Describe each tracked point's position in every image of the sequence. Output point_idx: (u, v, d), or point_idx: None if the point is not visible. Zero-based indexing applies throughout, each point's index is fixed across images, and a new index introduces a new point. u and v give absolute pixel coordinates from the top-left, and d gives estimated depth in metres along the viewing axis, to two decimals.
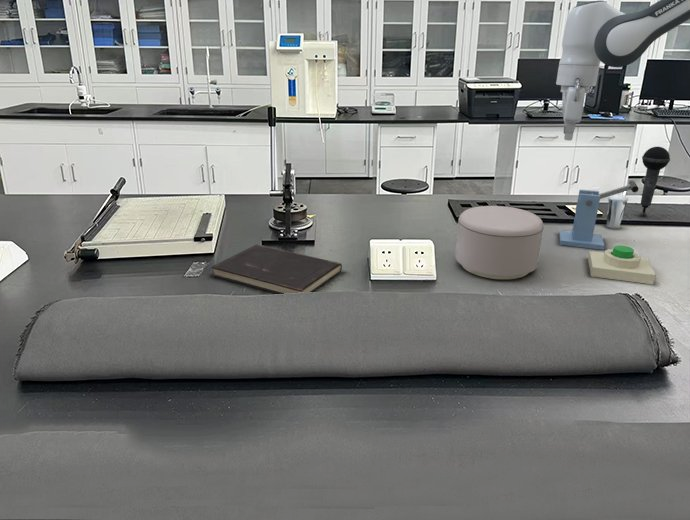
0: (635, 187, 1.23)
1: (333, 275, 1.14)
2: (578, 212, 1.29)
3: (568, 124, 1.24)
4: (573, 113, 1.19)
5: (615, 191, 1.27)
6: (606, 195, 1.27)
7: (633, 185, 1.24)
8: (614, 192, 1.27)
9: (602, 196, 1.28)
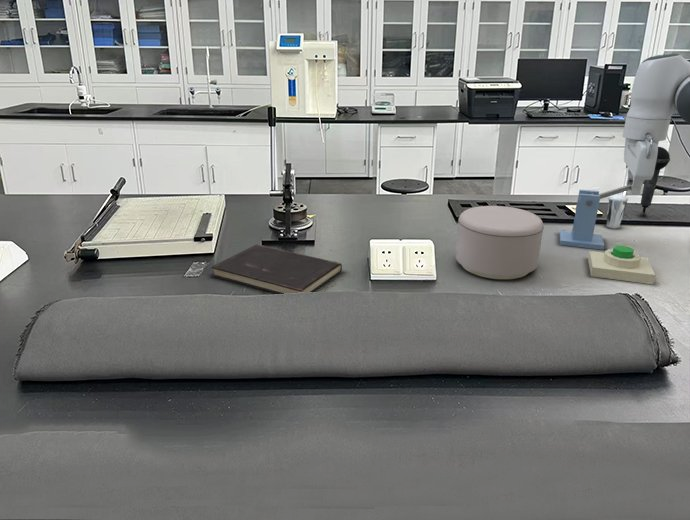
0: None
1: (333, 275, 1.14)
2: (578, 212, 1.29)
3: (636, 179, 1.20)
4: (645, 170, 1.14)
5: (615, 191, 1.27)
6: (606, 195, 1.27)
7: None
8: (614, 192, 1.27)
9: (602, 196, 1.28)
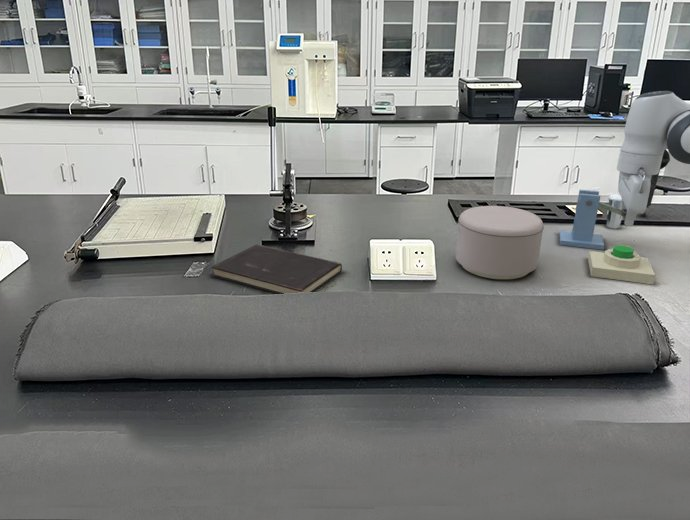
0: None
1: (333, 275, 1.14)
2: (578, 212, 1.29)
3: (630, 211, 1.22)
4: (638, 204, 1.17)
5: (613, 209, 1.28)
6: (604, 207, 1.29)
7: None
8: (612, 209, 1.28)
9: (601, 205, 1.29)
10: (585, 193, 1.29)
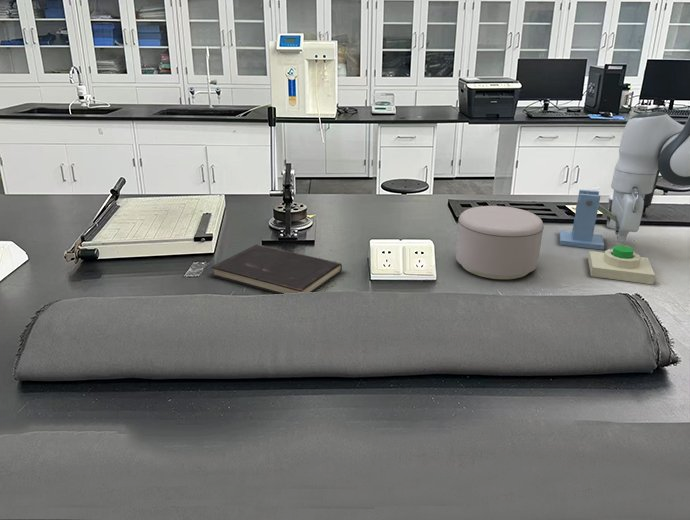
0: None
1: (333, 275, 1.14)
2: (578, 212, 1.29)
3: None
4: (631, 223, 1.19)
5: (610, 214, 1.29)
6: (602, 210, 1.29)
7: None
8: (608, 214, 1.29)
9: (599, 208, 1.29)
10: (587, 192, 1.29)
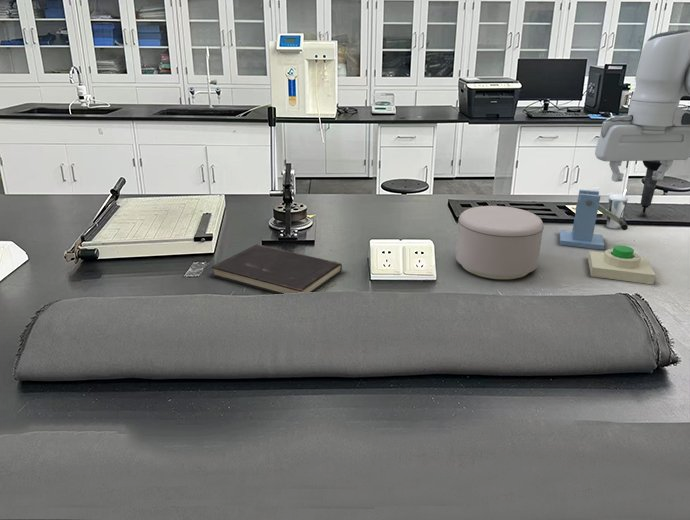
0: (626, 226, 1.26)
1: (333, 275, 1.14)
2: (578, 212, 1.29)
3: (610, 163, 1.14)
4: (599, 150, 1.12)
5: (610, 214, 1.29)
6: (602, 210, 1.29)
7: (626, 223, 1.27)
8: (608, 214, 1.29)
9: (599, 208, 1.29)
10: (587, 192, 1.29)
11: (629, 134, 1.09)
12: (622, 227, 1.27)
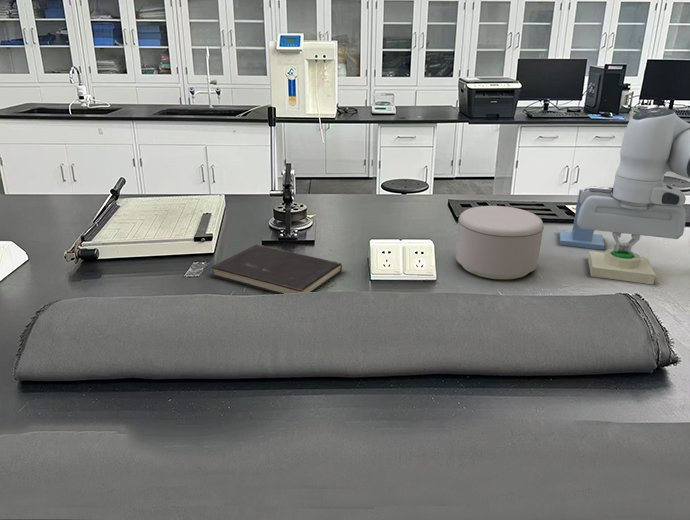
0: None
1: (333, 275, 1.14)
2: (578, 212, 1.29)
3: (612, 233, 1.15)
4: (578, 216, 1.16)
5: None
6: None
7: None
8: None
9: None
10: None
11: (606, 206, 1.12)
12: None
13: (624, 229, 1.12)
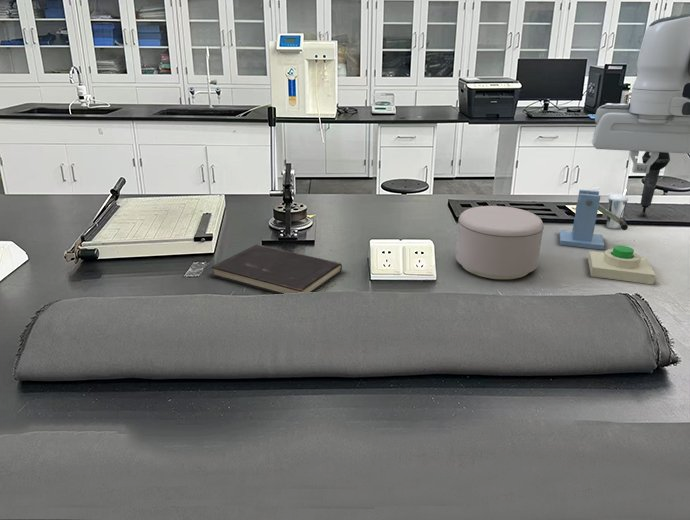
0: (626, 226, 1.26)
1: (333, 275, 1.14)
2: (578, 212, 1.29)
3: (630, 153, 1.11)
4: (593, 137, 1.12)
5: (610, 214, 1.29)
6: (602, 210, 1.29)
7: (626, 223, 1.27)
8: (608, 214, 1.29)
9: (599, 208, 1.29)
10: (587, 192, 1.29)
11: (623, 122, 1.07)
12: (622, 227, 1.27)
13: (642, 146, 1.08)
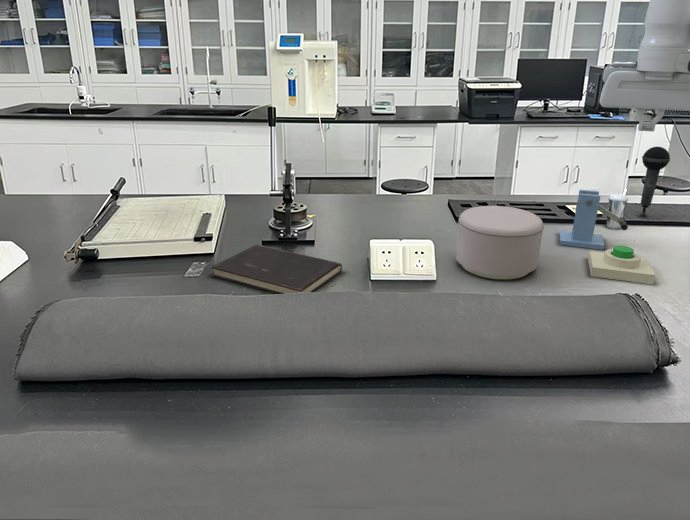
0: (626, 226, 1.26)
1: (333, 275, 1.14)
2: (578, 212, 1.29)
3: (636, 111, 1.14)
4: (601, 96, 1.15)
5: (610, 214, 1.29)
6: (602, 210, 1.29)
7: (626, 223, 1.27)
8: (608, 214, 1.29)
9: (599, 208, 1.29)
10: (587, 192, 1.29)
11: (630, 80, 1.10)
12: (622, 227, 1.27)
13: (648, 104, 1.11)
